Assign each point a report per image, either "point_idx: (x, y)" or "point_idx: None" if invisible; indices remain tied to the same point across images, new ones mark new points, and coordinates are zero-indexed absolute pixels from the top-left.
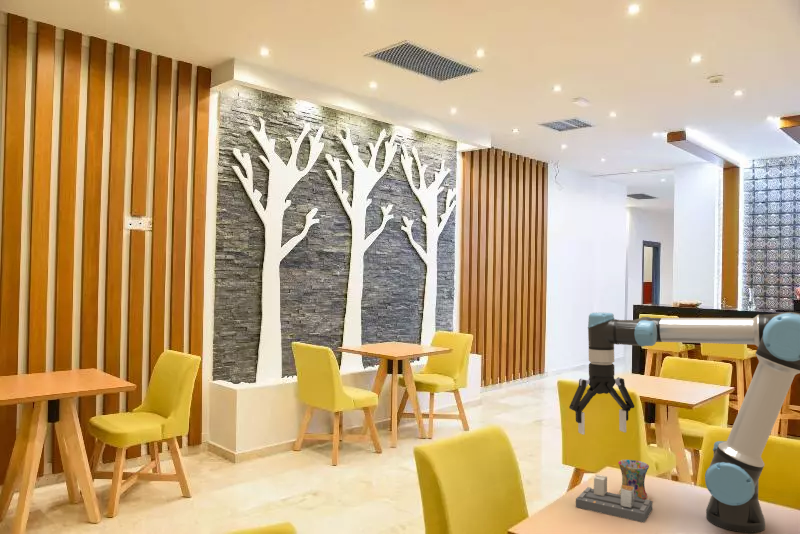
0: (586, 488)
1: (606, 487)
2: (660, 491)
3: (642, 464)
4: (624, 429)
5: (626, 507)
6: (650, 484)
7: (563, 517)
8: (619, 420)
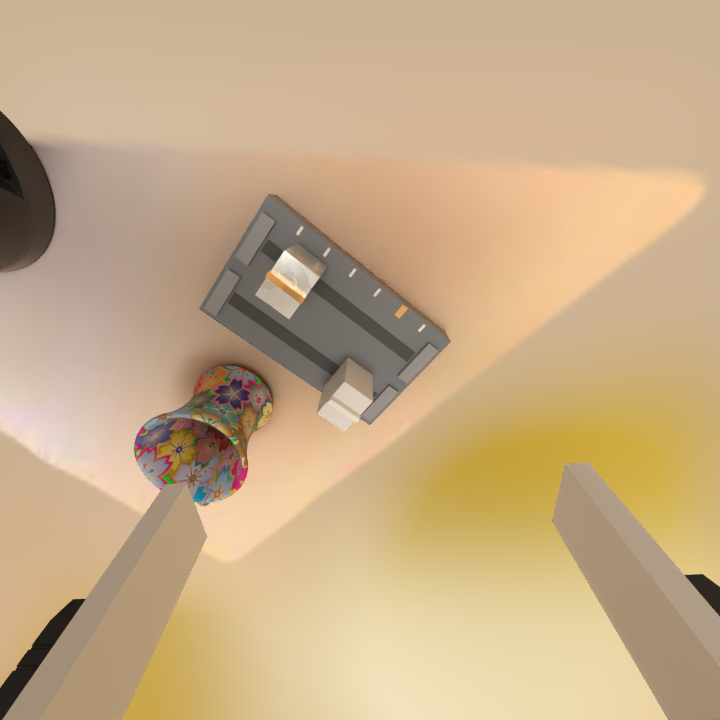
0: (380, 411)
1: (324, 390)
2: None
3: (154, 468)
4: (168, 503)
5: None
6: None
7: (527, 255)
8: (164, 625)
